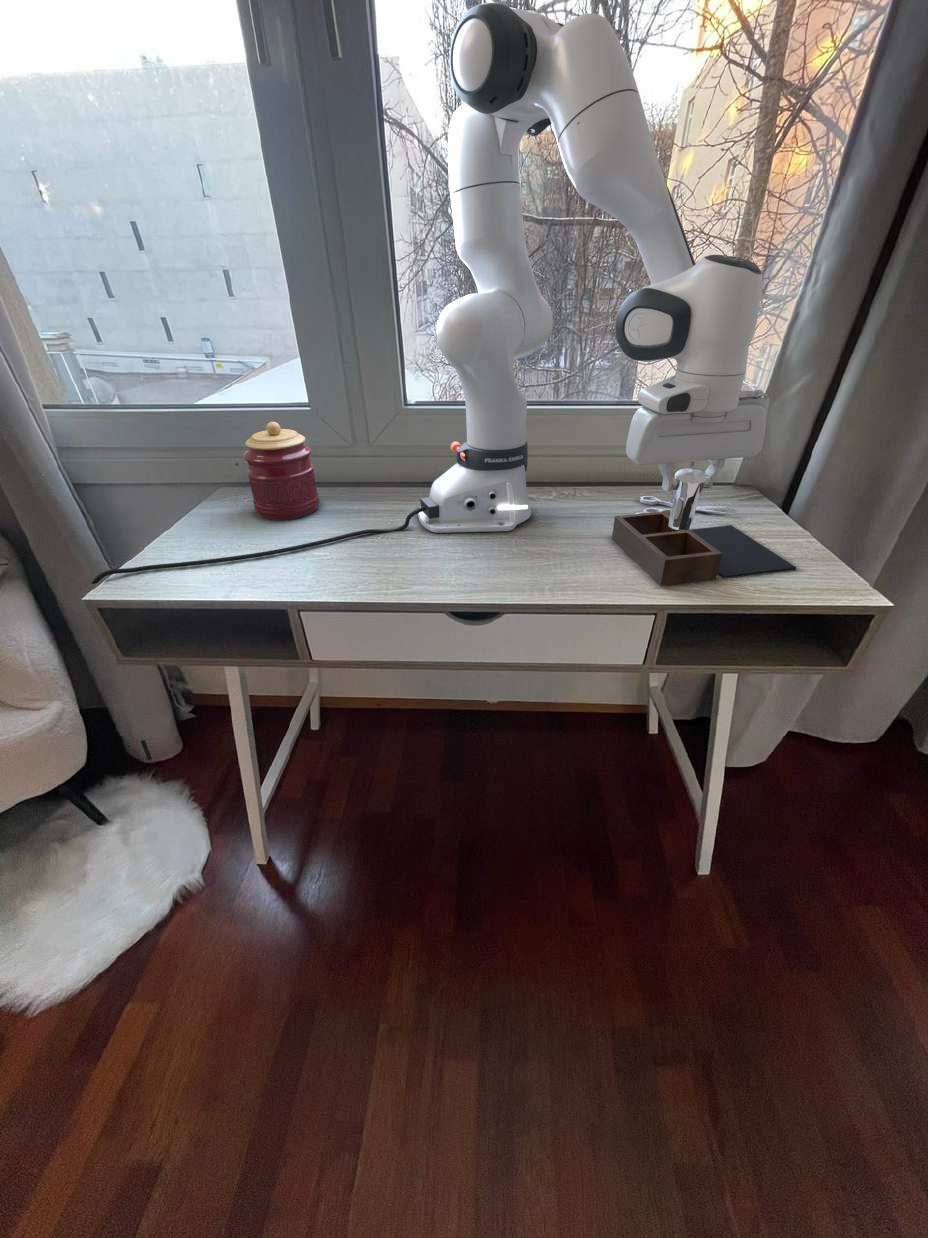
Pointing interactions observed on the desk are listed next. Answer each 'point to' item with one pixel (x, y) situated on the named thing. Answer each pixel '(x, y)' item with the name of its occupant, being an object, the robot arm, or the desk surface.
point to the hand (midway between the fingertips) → (686, 488)
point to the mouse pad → (741, 553)
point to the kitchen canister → (281, 474)
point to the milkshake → (686, 497)
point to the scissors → (655, 500)
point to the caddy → (665, 549)
